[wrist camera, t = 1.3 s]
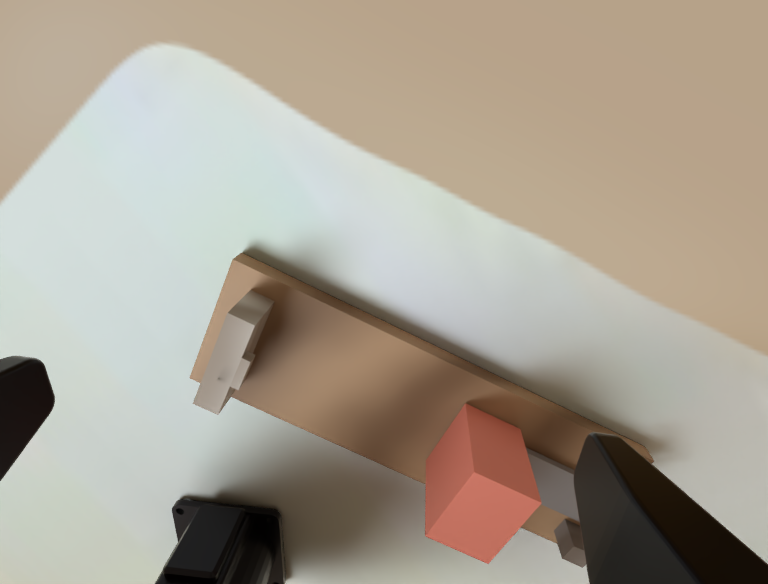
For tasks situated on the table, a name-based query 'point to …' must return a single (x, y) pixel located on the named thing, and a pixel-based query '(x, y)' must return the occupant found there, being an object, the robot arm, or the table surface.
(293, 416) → the plank
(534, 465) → the tab
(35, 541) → the table surface
